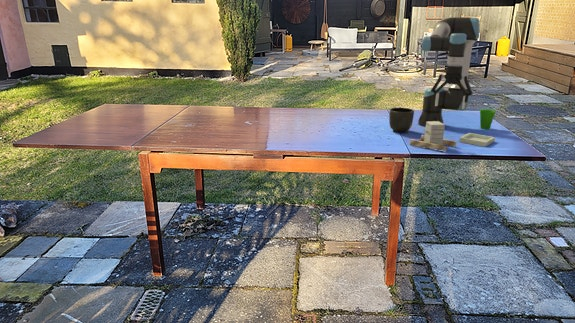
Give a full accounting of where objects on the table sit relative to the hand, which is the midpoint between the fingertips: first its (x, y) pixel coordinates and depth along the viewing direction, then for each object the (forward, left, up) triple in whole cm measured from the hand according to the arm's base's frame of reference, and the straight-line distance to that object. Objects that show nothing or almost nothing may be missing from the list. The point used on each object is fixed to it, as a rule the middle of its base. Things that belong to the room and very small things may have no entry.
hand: (449, 107), depth 220 cm
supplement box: (-4, -7, -21) cm, 22 cm away
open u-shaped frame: (-4, -7, -20) cm, 22 cm away
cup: (+3, +50, -20) cm, 54 cm away
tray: (+10, +17, -20) cm, 29 cm away
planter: (-32, +9, -21) cm, 39 cm away
